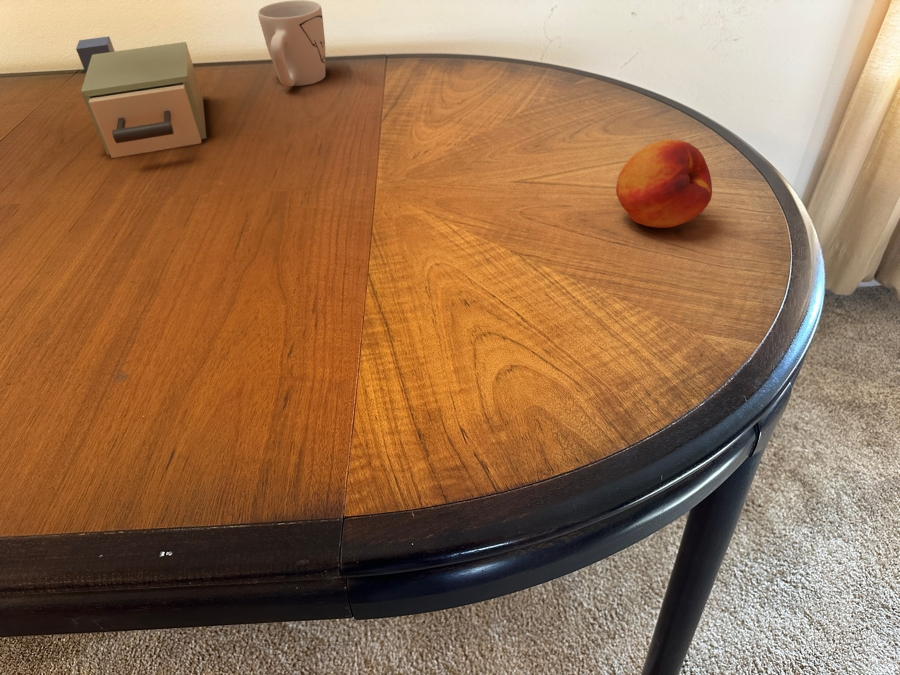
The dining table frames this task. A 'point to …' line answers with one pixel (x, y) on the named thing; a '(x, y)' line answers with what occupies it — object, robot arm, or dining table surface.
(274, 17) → the mug
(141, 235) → the dining table surface
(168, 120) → the drawer
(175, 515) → the dining table surface
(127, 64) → the cabinet
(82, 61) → the block
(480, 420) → the dining table surface
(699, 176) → the fruit
